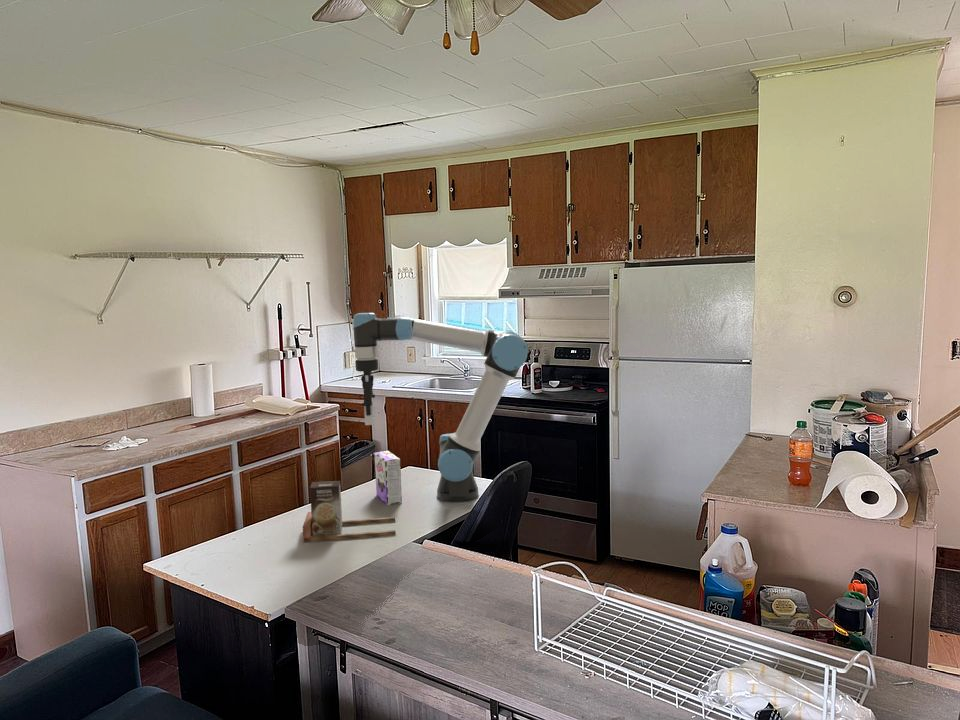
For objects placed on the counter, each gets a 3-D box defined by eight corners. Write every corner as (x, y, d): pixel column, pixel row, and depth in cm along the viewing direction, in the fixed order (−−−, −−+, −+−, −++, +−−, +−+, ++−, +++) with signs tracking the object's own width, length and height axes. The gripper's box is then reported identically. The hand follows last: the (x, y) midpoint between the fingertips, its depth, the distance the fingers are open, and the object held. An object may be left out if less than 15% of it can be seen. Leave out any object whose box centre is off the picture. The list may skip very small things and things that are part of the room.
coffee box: (311, 537, 210) (308, 487, 208) (314, 530, 216) (311, 481, 215) (341, 535, 211) (338, 485, 209) (343, 528, 217) (340, 479, 216)
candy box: (375, 495, 251) (373, 452, 249) (391, 492, 253) (389, 449, 251) (386, 505, 238) (384, 460, 236) (402, 503, 241) (400, 458, 239)
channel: (395, 520, 223) (394, 505, 222) (395, 535, 210) (394, 519, 209) (308, 527, 219) (307, 512, 219) (303, 542, 206) (302, 526, 206)
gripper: (356, 355, 239) (360, 414, 241) (353, 363, 214) (356, 429, 217) (378, 354, 240) (381, 413, 242) (377, 362, 215) (380, 427, 218)
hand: (369, 420), depth 230 cm, fingers open, 13 cm apart
